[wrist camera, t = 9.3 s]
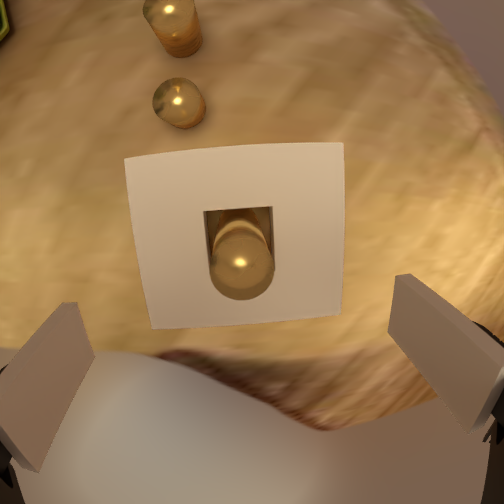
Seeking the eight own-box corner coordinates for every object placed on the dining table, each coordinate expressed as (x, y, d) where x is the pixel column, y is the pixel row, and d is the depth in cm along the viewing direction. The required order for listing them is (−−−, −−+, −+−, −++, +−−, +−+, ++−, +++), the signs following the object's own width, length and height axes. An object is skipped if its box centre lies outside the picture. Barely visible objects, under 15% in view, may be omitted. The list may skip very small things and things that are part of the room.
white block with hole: (165, 298, 30) (152, 329, 25) (145, 157, 26) (124, 158, 20) (322, 286, 31) (340, 314, 25) (321, 144, 27) (343, 142, 21)
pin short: (167, 130, 26) (153, 125, 21) (165, 93, 25) (151, 81, 20) (206, 126, 26) (201, 119, 21) (204, 88, 25) (198, 74, 20)
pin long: (220, 244, 29) (212, 302, 18) (217, 206, 28) (205, 242, 17) (258, 241, 29) (275, 297, 18) (256, 203, 28) (273, 237, 17)
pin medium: (164, 60, 23) (141, 29, 16) (164, 28, 22) (144, -10, 15) (202, 55, 24) (193, 21, 16) (202, 23, 23) (193, -17, 15)
